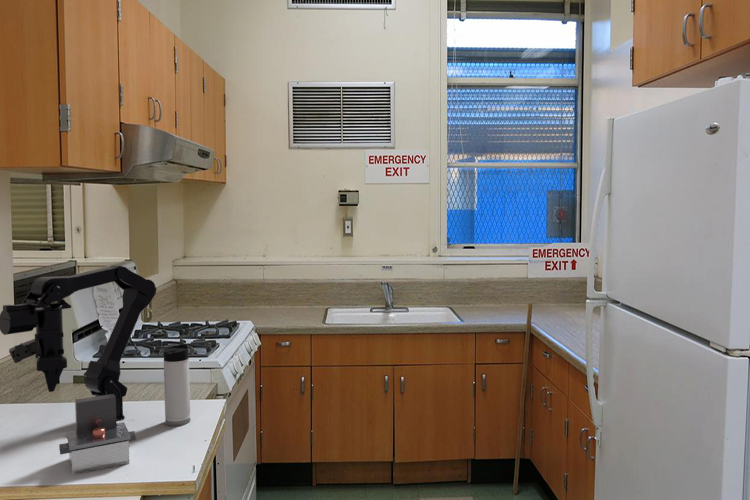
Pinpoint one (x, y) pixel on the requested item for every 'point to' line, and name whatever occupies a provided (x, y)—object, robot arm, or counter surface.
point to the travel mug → (176, 385)
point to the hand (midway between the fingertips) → (51, 391)
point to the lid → (96, 423)
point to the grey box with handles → (98, 455)
